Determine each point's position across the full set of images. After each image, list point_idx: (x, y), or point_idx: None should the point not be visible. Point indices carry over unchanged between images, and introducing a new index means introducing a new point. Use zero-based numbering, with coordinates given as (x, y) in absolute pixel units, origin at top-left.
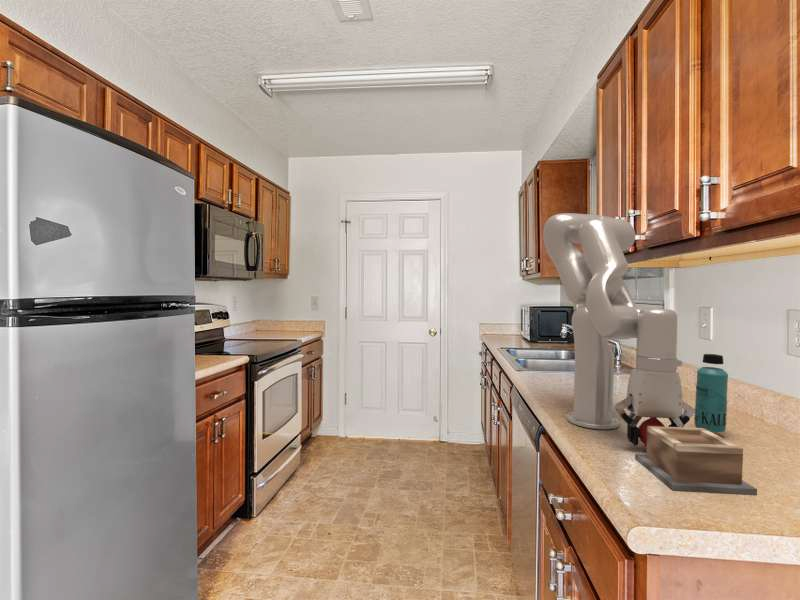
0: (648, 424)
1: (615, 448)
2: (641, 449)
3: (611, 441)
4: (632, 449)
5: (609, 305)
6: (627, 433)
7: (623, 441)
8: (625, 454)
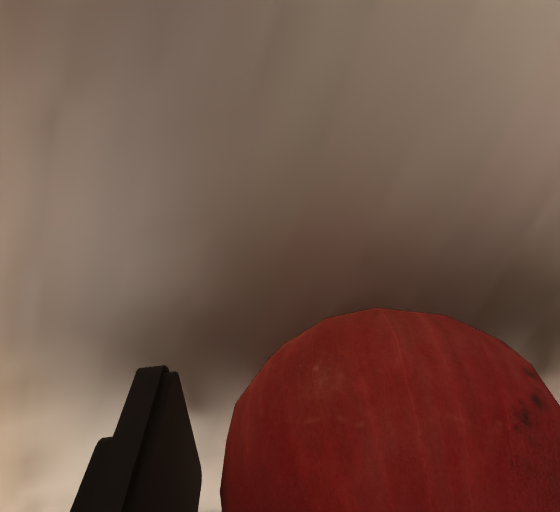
0: None
1: (29, 366)
2: (269, 336)
3: (4, 178)
4: (183, 354)
5: None
6: (88, 478)
7: (144, 143)
8: None
